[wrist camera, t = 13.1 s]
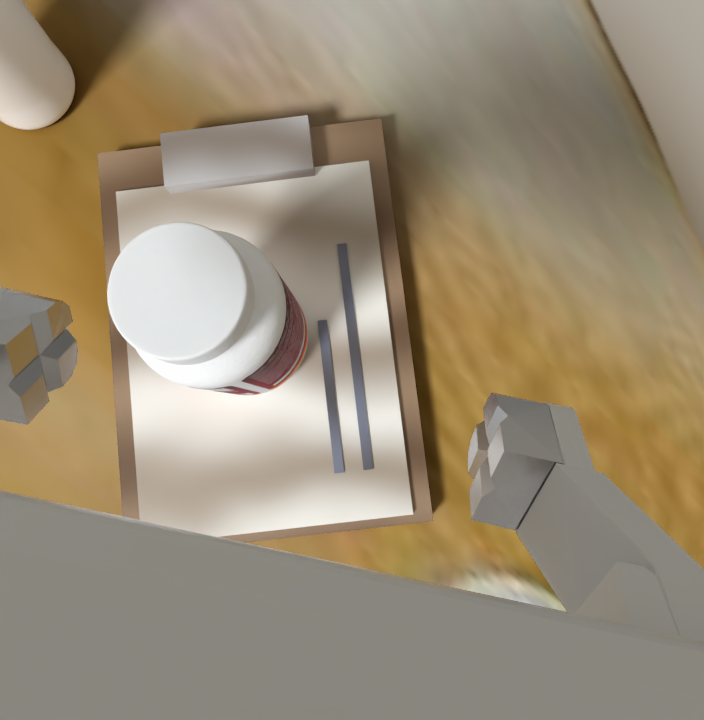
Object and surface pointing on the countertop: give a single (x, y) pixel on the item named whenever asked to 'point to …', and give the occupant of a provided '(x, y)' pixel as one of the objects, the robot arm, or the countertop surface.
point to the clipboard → (324, 348)
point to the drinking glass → (31, 71)
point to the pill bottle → (207, 310)
